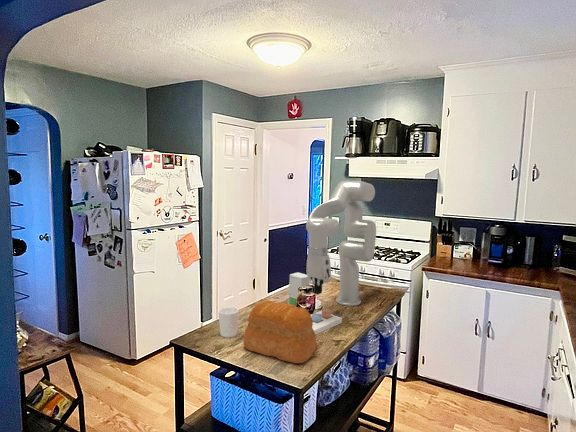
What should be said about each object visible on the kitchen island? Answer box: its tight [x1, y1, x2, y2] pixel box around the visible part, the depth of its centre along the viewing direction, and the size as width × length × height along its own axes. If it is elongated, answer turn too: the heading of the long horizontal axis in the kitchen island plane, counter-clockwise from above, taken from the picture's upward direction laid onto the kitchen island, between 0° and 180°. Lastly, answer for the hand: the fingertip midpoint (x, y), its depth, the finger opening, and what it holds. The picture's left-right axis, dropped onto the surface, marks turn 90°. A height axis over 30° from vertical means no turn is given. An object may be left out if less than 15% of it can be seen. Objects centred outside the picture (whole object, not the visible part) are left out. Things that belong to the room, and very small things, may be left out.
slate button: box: [311, 312, 321, 323], centre depth 164 cm, size 4×4×4 cm
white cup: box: [218, 306, 239, 338], centre depth 157 cm, size 8×8×10 cm
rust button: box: [321, 309, 332, 319], centre depth 168 cm, size 4×4×4 cm
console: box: [310, 310, 343, 335], centre depth 164 cm, size 20×12×4 cm, turn 136°
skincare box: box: [287, 271, 311, 306], centre depth 190 cm, size 8×7×16 cm
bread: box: [242, 300, 318, 364], centre depth 143 cm, size 16×26×17 cm, turn 60°
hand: (318, 293), depth 163 cm, fingers closed
